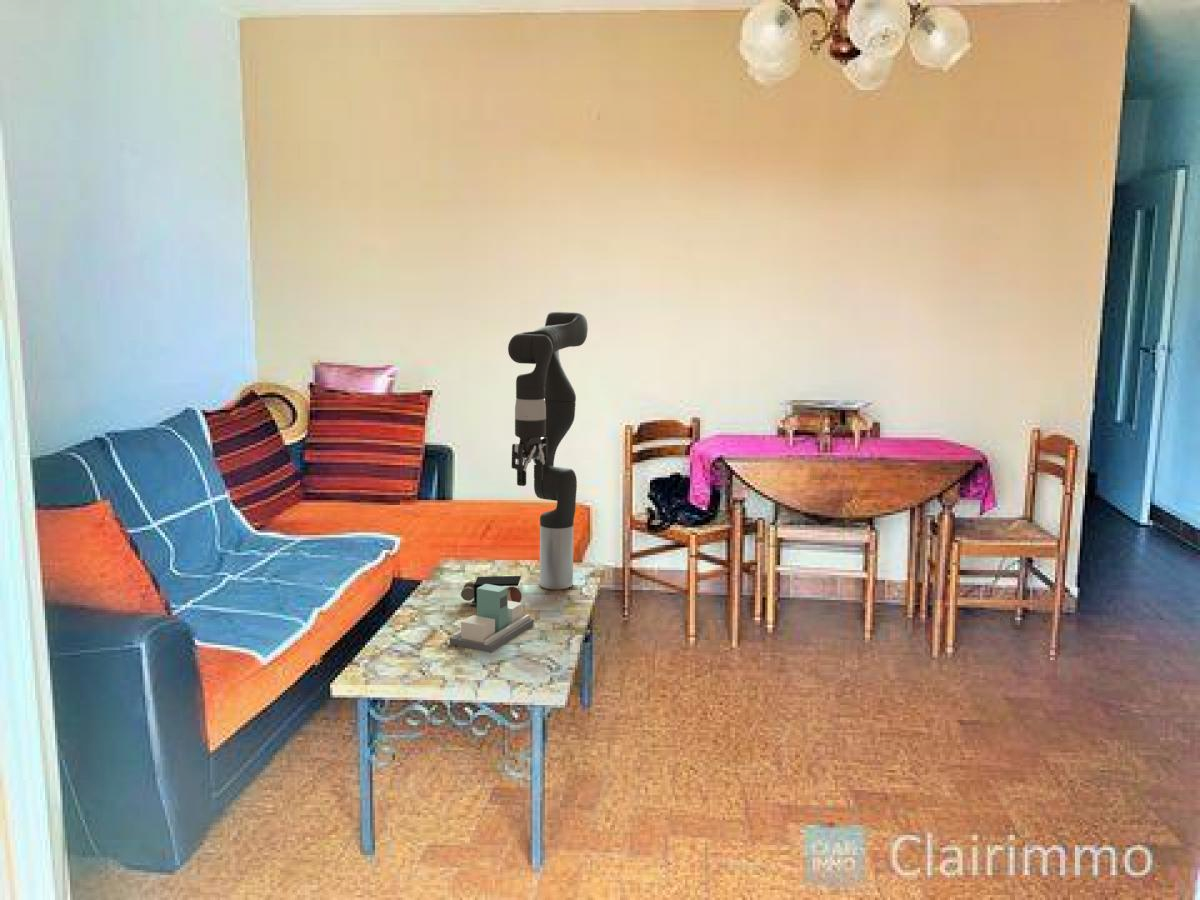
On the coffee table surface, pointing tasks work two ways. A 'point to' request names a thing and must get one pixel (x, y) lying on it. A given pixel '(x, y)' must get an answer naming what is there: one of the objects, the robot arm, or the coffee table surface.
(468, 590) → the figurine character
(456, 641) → the rail board
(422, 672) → the coffee table surface
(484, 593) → the block
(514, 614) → the mounted blocks
